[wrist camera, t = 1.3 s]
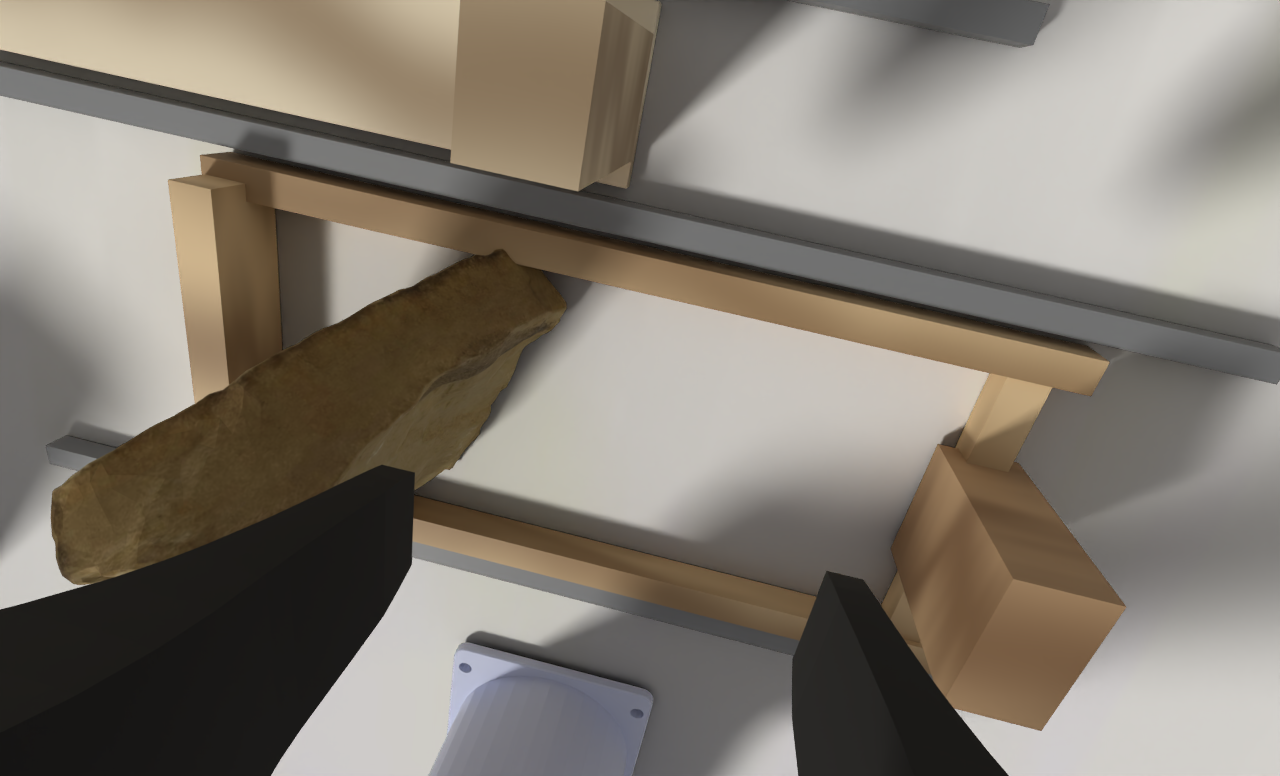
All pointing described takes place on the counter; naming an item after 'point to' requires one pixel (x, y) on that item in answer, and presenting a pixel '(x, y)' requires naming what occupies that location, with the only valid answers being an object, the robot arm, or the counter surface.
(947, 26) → the rails
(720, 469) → the counter surface
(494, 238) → the oak sled
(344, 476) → the rock
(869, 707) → the robot arm
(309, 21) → the maple strip
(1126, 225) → the counter surface
